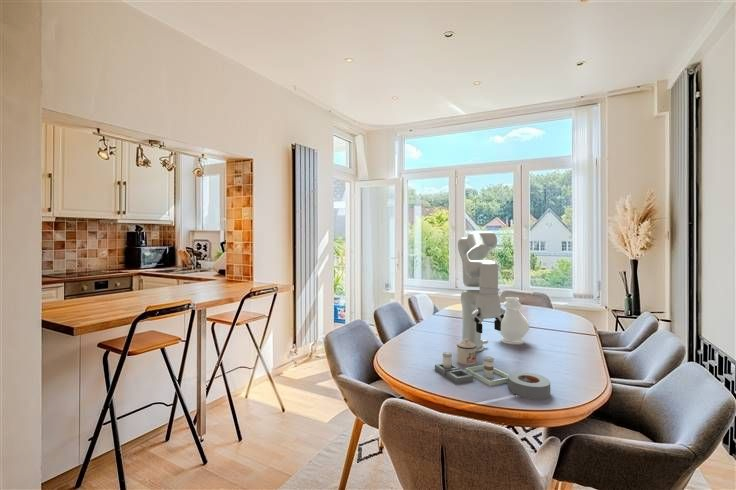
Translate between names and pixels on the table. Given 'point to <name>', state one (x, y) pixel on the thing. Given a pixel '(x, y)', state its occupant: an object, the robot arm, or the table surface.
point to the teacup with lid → (466, 352)
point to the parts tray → (490, 383)
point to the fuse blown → (488, 367)
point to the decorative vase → (513, 322)
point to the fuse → (447, 360)
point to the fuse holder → (454, 374)
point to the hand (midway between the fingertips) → (488, 331)
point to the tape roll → (529, 385)
